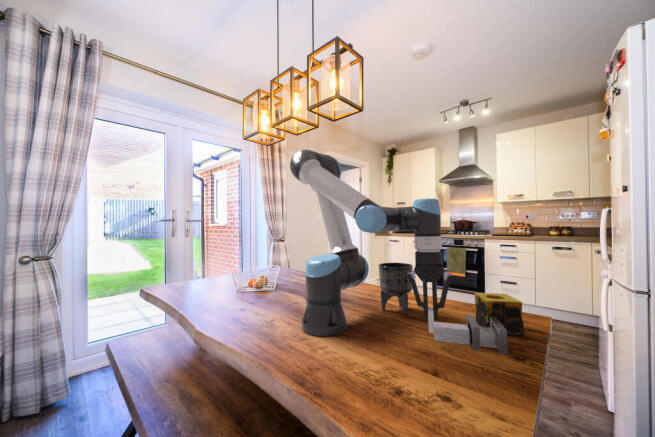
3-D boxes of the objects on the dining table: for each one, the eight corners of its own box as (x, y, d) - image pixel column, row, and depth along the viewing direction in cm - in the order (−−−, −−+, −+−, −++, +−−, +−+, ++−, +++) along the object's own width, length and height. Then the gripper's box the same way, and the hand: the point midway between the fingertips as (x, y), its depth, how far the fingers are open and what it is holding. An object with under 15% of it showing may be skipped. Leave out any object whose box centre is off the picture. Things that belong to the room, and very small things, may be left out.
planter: (387, 303, 110) (386, 261, 111) (418, 308, 103) (417, 263, 103) (374, 312, 100) (373, 265, 100) (407, 318, 92) (405, 268, 93)
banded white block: (434, 340, 74) (434, 326, 74) (434, 334, 78) (433, 321, 78) (499, 348, 69) (499, 333, 69) (495, 342, 72) (495, 327, 73)
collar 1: (473, 350, 68) (472, 326, 68) (467, 334, 78) (466, 314, 78) (480, 350, 68) (479, 327, 68) (473, 335, 77) (472, 315, 77)
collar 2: (500, 353, 66) (499, 329, 66) (490, 337, 75) (489, 316, 76) (507, 354, 65) (506, 330, 66) (497, 338, 75) (496, 317, 75)
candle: (525, 336, 76) (523, 302, 76) (487, 334, 78) (485, 300, 78) (508, 323, 86) (507, 293, 86) (475, 322, 88) (473, 292, 88)
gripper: (404, 251, 76) (407, 333, 75) (453, 252, 71) (457, 339, 70) (406, 249, 83) (409, 324, 82) (451, 249, 78) (454, 328, 77)
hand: (431, 330), depth 76 cm, fingers closed
